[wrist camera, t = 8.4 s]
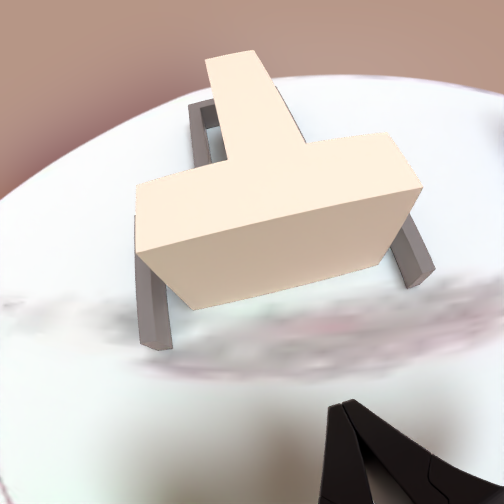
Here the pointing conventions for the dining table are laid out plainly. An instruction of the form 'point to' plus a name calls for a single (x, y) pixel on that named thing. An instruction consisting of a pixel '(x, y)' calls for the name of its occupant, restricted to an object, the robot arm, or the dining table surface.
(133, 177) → the dining table surface
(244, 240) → the t block
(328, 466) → the robot arm
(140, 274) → the t outline
